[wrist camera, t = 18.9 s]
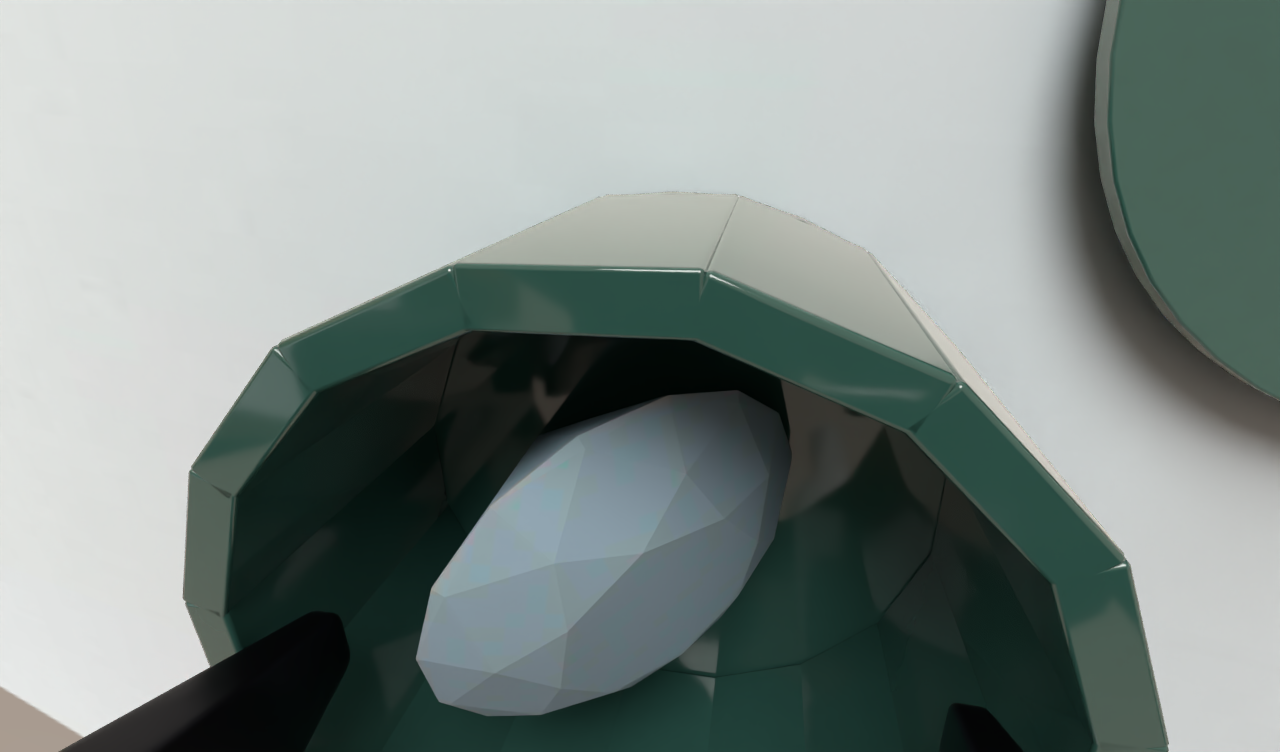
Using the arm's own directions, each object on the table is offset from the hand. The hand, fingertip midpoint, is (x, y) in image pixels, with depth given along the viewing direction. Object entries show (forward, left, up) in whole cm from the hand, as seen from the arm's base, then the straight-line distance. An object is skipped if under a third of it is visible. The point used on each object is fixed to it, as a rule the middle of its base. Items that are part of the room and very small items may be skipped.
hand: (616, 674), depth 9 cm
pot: (0, 0, -6) cm, 6 cm away
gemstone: (0, 0, -5) cm, 5 cm away
